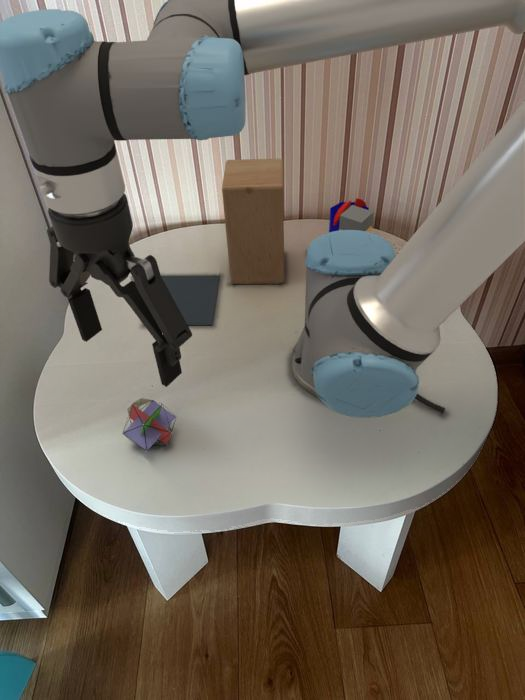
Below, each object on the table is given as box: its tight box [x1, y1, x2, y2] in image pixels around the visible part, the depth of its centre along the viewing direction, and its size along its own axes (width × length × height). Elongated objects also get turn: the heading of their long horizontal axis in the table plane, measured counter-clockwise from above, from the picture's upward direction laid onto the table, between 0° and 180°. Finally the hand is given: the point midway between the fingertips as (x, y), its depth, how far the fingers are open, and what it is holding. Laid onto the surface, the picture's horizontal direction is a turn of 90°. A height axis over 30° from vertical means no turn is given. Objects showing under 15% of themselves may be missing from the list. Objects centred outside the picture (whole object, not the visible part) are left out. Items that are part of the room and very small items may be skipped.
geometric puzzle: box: [121, 397, 178, 453], centre depth 78 cm, size 7×7×8 cm
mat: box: [161, 275, 221, 327], centre depth 102 cm, size 14×12×1 cm
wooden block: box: [221, 158, 285, 285], centre depth 101 cm, size 10×10×20 cm
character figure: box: [339, 205, 374, 233], centre depth 94 cm, size 8×10×18 cm
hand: (130, 356), depth 69 cm, fingers open, 13 cm apart
